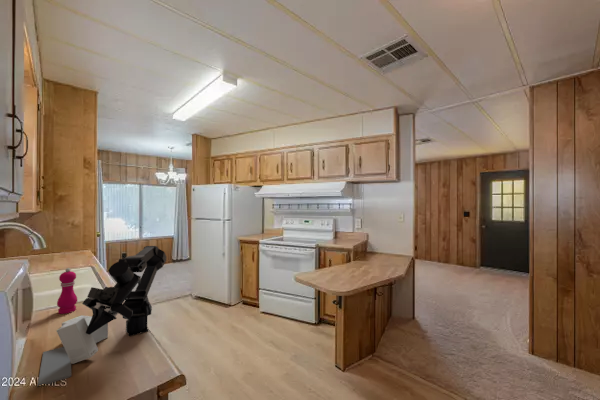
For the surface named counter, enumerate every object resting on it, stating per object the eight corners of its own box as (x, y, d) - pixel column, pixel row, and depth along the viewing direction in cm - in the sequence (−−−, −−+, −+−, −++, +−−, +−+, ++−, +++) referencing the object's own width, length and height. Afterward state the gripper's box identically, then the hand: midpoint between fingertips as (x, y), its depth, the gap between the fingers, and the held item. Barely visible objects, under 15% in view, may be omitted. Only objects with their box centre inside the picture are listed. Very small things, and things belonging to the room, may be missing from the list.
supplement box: (60, 343, 97) (89, 347, 94) (61, 322, 97) (89, 325, 94) (81, 334, 104) (108, 337, 101) (81, 314, 104) (108, 317, 102)
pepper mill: (61, 309, 128) (62, 267, 129) (80, 307, 131) (80, 266, 131) (53, 315, 122) (54, 270, 122) (72, 313, 124) (73, 269, 124)
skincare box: (99, 349, 89) (85, 316, 88) (90, 358, 84) (76, 323, 83) (80, 356, 88) (66, 322, 87) (70, 365, 84) (55, 330, 83)
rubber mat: (70, 346, 95) (70, 344, 95) (71, 376, 78) (71, 374, 78) (43, 353, 90) (43, 351, 90) (37, 387, 74) (37, 385, 74)
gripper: (89, 273, 95) (49, 317, 84) (124, 279, 87) (85, 328, 77) (112, 290, 102) (77, 332, 91) (146, 296, 94) (113, 343, 84)
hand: (87, 333), depth 86 cm, fingers closed
